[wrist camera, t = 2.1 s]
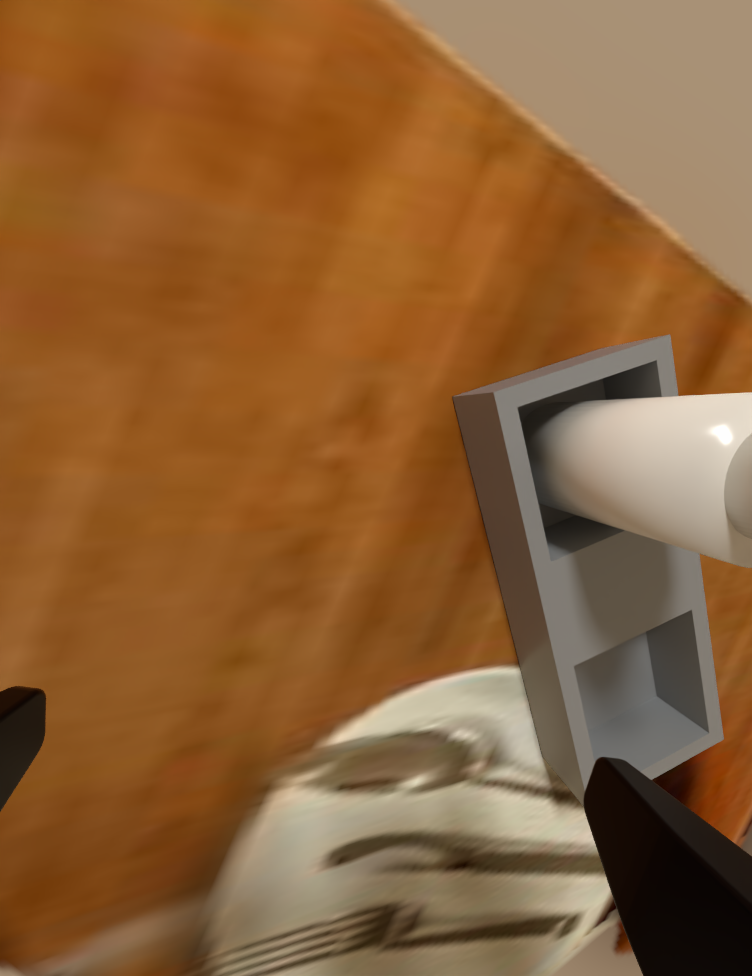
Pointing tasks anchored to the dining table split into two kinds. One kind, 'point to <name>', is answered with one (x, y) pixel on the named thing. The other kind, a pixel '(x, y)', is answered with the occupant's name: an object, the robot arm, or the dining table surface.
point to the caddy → (593, 585)
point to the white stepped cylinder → (651, 467)
